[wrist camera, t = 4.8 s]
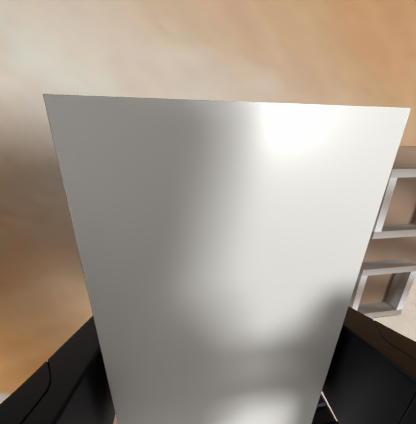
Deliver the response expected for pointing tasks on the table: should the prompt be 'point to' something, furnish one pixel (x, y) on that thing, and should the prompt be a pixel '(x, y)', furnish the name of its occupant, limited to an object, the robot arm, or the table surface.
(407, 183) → the build board
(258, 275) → the cover
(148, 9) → the table surface
